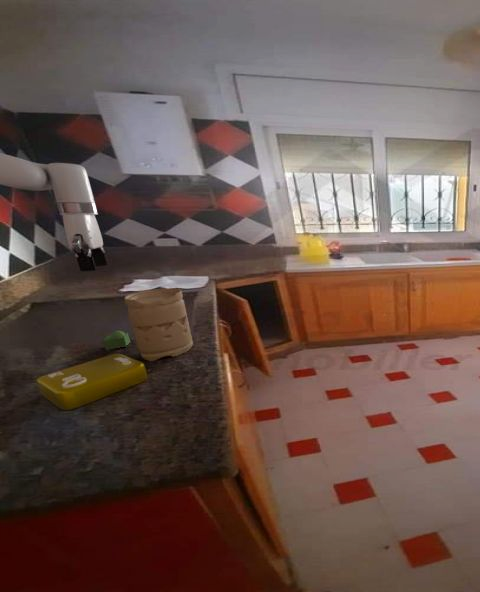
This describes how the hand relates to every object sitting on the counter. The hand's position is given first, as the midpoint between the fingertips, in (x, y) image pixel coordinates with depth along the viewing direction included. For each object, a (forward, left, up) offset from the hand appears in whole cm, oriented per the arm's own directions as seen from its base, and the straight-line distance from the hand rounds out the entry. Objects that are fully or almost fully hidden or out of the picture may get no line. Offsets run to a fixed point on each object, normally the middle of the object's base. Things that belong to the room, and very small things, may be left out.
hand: (95, 268), depth 95 cm
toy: (+2, -6, -24) cm, 25 cm away
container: (+16, -18, -24) cm, 34 cm away
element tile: (+5, -34, -24) cm, 42 cm away
